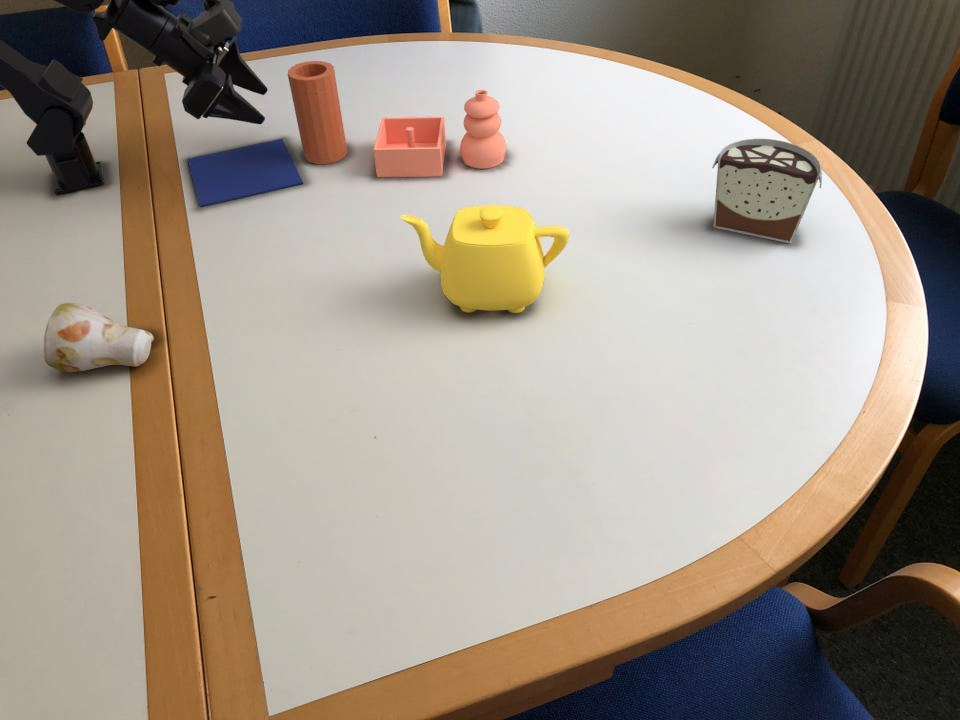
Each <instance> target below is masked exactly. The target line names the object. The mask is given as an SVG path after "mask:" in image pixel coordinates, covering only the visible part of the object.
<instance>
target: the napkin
mask: <svg viewBox="0 0 960 720" xmlns="http://www.w3.org/2000/svg"><path fill="white" fill-rule="evenodd" d="M187 163H188V166H189V169H190V170H189V171H190V173H191V177H192V180H193V184H194V189H195V192H196V195H197V199H198V203H199V207H200V208H203V207H208V206H212V205H216V204H222V203H225V202H231V201H235V200H238V199H243V198H248V197H252V196H255V195H256V196H257V195H260V194H265V193H269V192H274V191H278V190H282V189H286V188H291V187H292V188H293V187H296V186H300V185H304V182H303V179H302V177H301V174H300V172H299V171H298V168H297V166H296V164H295V162H294V159H293V158H292V156H291V154H290V152H289V150H288V147H287V146H286V144H285V141H284V139H283V138H278V139H274V140H268V141H263V142H260V143H254V144H251V145H245V146H240V147H236V148H231V149H226V150H222V151H217V152H212V153H206V154H203V155H197V156H192V157H189V158H187Z"/></svg>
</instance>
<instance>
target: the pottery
mask: <svg viewBox="0 0 960 720" xmlns="http://www.w3.org/2000/svg"><path fill="white" fill-rule="evenodd" d="M474 93H475V96H472V97H470V98H469V99H467V100H466V101H465V103H464V106H463V110H464V112H465V113H466V115H465V116H464V118H463V127H464V129H465V131H466V132H465V134H464V135H463V137H462V139H461V141H460V145H459V152H460V153H461V154H460V155H461V158H462V161H463V163H464V164H465V165H466V166H468V167H470V168H473V169H479V170H481V169H492V168H496V167H497V166H500V165H501V164H502V163H503V162H504V161H505V157H506V153H507V142H506V139H505V137H504V136H503V134H502V133H501V132H500V129H501V126H502V118H501V115H500V114H499V113H498V112H499V111H500V108H501V107H500V103H499V101H498V100H497V99H496V98H494V97H492V96H489V95H488V91H487V89H477V90H476V91H475V92H474ZM445 124H446V123H445V116H412V117H411V116H403V117H402V116H401V117H381V118H380V123H379V125H378V130H377V134H376V138H375V142H374V146H373V158H374V165H375V171H376V172H375V173H376V178H419V177H421V178H423V177H427V178H428V177H429V178H430V177H443V172H444V171H443V170H444V164H445V163H444V162H445V156H446V155H445V154H446V147H447V139H446V138H447V137H446V125H445Z"/></svg>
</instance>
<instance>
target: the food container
mask: <svg viewBox="0 0 960 720" xmlns="http://www.w3.org/2000/svg"><path fill="white" fill-rule="evenodd" d="M715 166H717V169H716V170H717V171H716V183H715V185H716V187H715V196H714V197H715V198H714V213H713V224H712V225H713V226H712V228H714V229H719V230H723V231H728V232H733V233H738V234H744V235H748V236H751V237H758V238H762V239H765V240H772V241H776V242H781V243H786V244H792V243H793V240H794V237H795V236H796V233H797V231H798V228H799V226H800V224H801V221H802V219H803V217H804V214H805V211H806V209H807V207H808V205H809V202H810V200H811V197H812V195H813V193H814V191H815V188H816V185H817V184H818V181H819V189H822V184H823V170H822V165H821V161H820V160H819V159H818V158H817V157H816V156H815V155H814V154H813V153H812V152H811V151H809V150H807V149H806V148H804V147H802V146H799V145H797V144H794V143H791V142H788V141H784V140H779V139H771V138H747V139H741V140H736V141H735V142H732V143H729V144H728V145H725V146H724V147H723V148H722V149H721V150H720V151H719V153H718V155H716V157H715V159H714V162H713V165H712V167H711V168H712V169H714V168H715Z"/></svg>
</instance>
